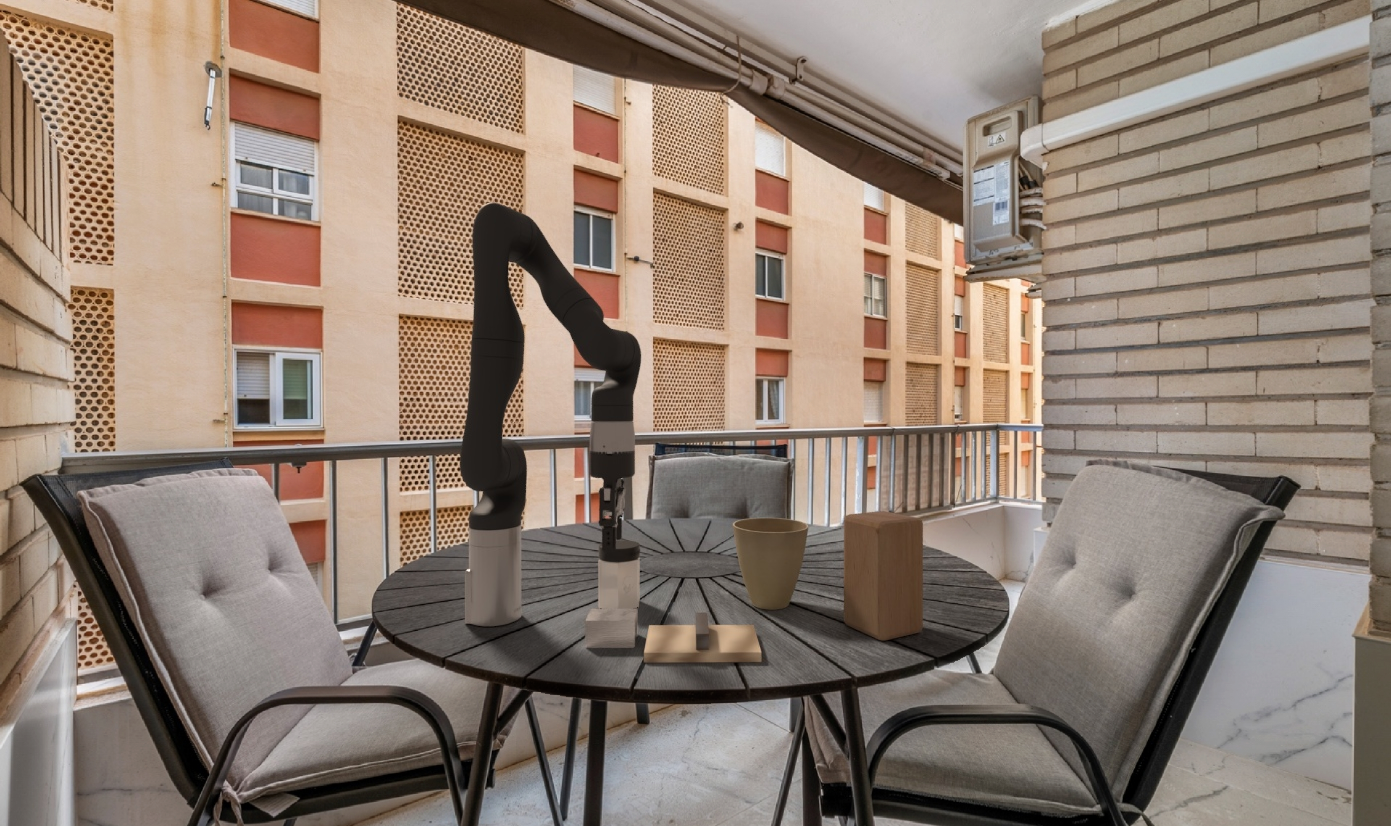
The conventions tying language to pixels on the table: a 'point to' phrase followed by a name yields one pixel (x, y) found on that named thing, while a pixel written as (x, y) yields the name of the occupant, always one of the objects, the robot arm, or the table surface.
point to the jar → (619, 576)
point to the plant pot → (770, 558)
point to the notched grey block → (611, 628)
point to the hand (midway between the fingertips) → (612, 545)
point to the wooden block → (883, 574)
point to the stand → (702, 643)
